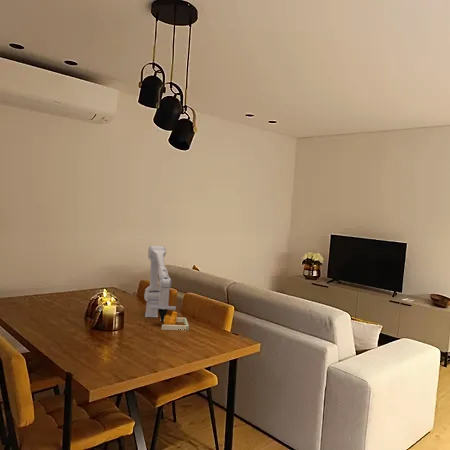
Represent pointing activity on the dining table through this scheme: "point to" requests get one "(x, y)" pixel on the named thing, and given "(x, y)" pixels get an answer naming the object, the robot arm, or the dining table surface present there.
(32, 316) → the dining table surface
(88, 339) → the dining table surface
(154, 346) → the dining table surface
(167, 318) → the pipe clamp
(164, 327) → the bracket
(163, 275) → the robot arm
